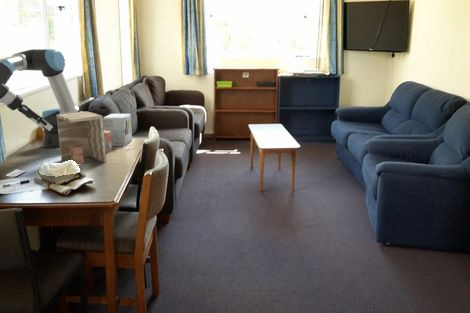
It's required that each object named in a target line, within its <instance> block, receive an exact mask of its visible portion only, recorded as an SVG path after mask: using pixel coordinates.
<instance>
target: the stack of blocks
mask: <svg viewBox="0 0 470 313" xmlns="http://www.w3.org/2000/svg"><path fill="white" fill-rule="evenodd" d="M104 140H105V153H111V152H112V151H113V149H114V148H113V146H112V133H111V131H106V130H104Z"/></svg>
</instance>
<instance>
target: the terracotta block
mask: <svg viewBox="0 0 470 313" xmlns="http://www.w3.org/2000/svg"><path fill="white" fill-rule="evenodd" d="M70 155H71V159H70V161H71V160H73V161H75V162H76V163H77V164H81V165H84V164H85V162H84V161H85V160H84V157H83V148H82V146H81V145H79V144H78V145H71V146H70Z"/></svg>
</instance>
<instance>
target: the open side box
mask: <svg viewBox="0 0 470 313" xmlns="http://www.w3.org/2000/svg"><path fill="white" fill-rule="evenodd" d="M103 118H104V117H103V115H101V114H98V113H95V112H90V111H83V112H78V113H68V114H59V115H57V124H58V134H59V143H60V147H59V151H60V152H59V153H60V160H61V161H68V160H67V159H69V160H71V155H70V146H71V145H78V144H79V145H81V146H82V148H83V158H86V157H85V156H87V157H91V158H93V157H94V159H95V160H97V161H100V162H102V163H107V156H106V155H107V154H106V153H107V152H105V140H104V122H103Z"/></svg>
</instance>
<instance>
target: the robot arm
mask: <svg viewBox="0 0 470 313" xmlns="http://www.w3.org/2000/svg"><path fill="white" fill-rule="evenodd" d="M65 59H66V58H65V56H64V55H63V53H62V52H61V51H60V50H58V49H54V48H53V49H52V48H48V49H45V48H43V49H41V48H39V49H36V48H34V49H28V50H24V51H21V52H16V53H13V54H12V55H11V56H8V57H7V56H6V57H3V58H0V104H3V105H4V106H6V107H7V108H8V109H10V110H11V111H16V110H17V111H18V112H20V113H21V114H23V115H24V116H25V117H26V118H27V119H29V120H30V121H32V122H33V123H34V124H36V125H37V126H38V127H40V128H42V127H43V132H44V133H43V134H44V135H43V139H42V143H41V145H42V148H44V149H57V148H58V149H60V143H59V134H58V124H57V115H59V114H68V113H78V112H84V111H83V110H80V107H79V106H78V105H76V104H75V102H74V99H73V97H72V95H71V92H70V89H69V87H68V84H67V82H66V79H65V77H64V75H63V73H64V69H65V67H66V66H65V65H66V63H65V62H66V60H65ZM15 71H18V72H23V71H40V72H41V73H42V75H43V77H45V78H47V80H48V82H49V85H50V87H51V90H52V92H53V95H54V97H55V99H56V102H57V104H58V106H59V108H58V107H57V108H52V109H46V110H43V111H42V113H41V115H39V114H38V113H36V112H35V111H33V110H32V109H31V108H30V107H28V105H26V104H23V102H24V99H23V97H22V96H20V95H19V94H17V93H16V92H15V91H14V90H13V89H11V88H10V87H9V86H8V85H6V84H7V83H8V81H9V80H10V78H11V77H12V76H13V73H14V72H15Z"/></svg>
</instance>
